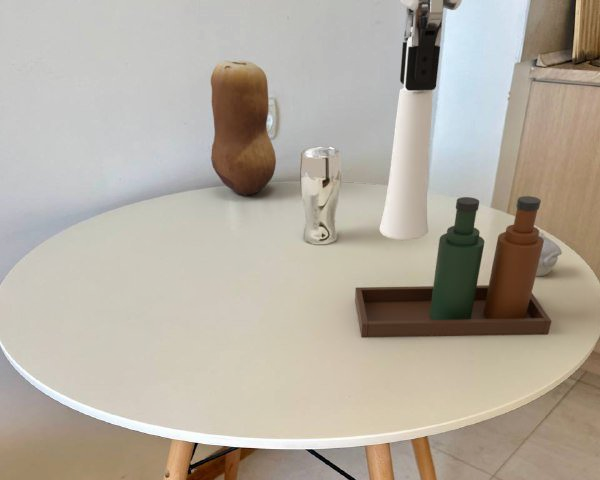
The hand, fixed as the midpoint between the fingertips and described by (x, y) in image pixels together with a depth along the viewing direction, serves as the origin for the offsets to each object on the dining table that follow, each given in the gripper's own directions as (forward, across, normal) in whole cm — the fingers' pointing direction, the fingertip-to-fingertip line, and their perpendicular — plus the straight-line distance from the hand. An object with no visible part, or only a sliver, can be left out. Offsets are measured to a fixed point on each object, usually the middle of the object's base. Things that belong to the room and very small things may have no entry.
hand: (417, 84), depth 65 cm
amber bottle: (+29, 0, -15) cm, 32 cm away
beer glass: (+30, +31, +10) cm, 44 cm away
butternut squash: (+30, +58, +25) cm, 70 cm away
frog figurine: (+30, +14, -24) cm, 41 cm away
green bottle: (+29, 0, -8) cm, 30 cm away
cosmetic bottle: (+17, 0, 0) cm, 17 cm away
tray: (+30, 0, -7) cm, 30 cm away
